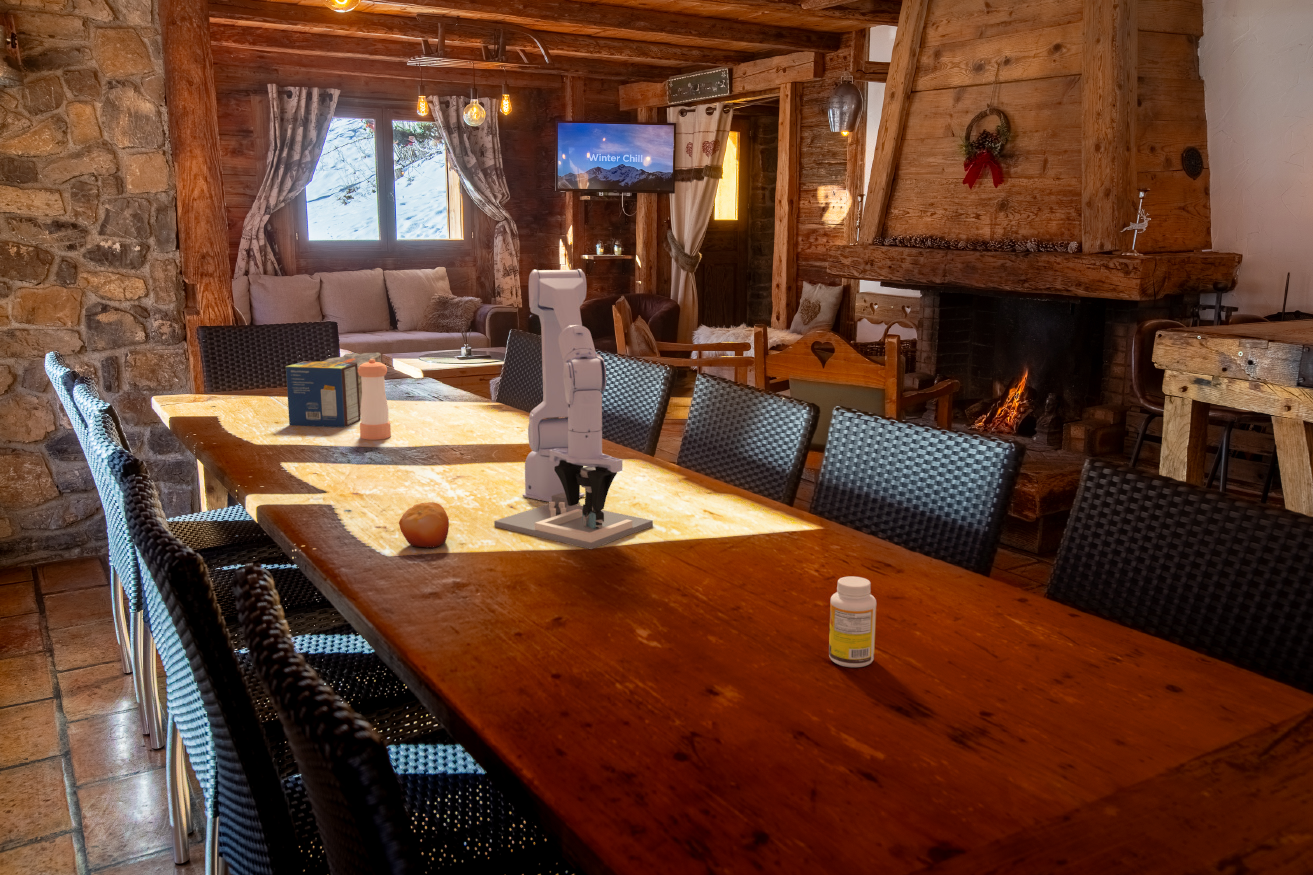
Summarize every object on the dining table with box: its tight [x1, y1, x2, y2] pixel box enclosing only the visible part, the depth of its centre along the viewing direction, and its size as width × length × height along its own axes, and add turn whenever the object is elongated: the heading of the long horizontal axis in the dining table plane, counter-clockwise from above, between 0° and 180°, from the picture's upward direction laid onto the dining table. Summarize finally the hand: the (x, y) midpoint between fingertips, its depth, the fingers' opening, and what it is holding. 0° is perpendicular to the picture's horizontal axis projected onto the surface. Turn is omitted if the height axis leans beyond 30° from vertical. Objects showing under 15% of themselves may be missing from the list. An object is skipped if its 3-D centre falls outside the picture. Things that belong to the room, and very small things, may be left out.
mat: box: [493, 503, 654, 550], centre depth 191 cm, size 22×17×1 cm
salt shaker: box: [358, 359, 392, 441], centre depth 265 cm, size 7×7×19 cm
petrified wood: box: [321, 352, 383, 409], centre depth 308 cm, size 19×17×15 cm
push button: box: [576, 466, 604, 529], centre depth 186 cm, size 7×5×10 cm
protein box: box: [285, 360, 361, 428], centre depth 283 cm, size 10×15×16 cm
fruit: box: [398, 501, 450, 549], centre depth 180 cm, size 8×8×8 cm
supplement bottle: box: [828, 575, 877, 668], centre depth 133 cm, size 6×6×10 cm
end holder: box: [535, 509, 632, 543], centre depth 186 cm, size 12×11×1 cm
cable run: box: [548, 493, 568, 517], centre depth 198 cm, size 4×11×2 cm, turn 175°
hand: (585, 507), depth 186 cm, fingers closed on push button, 5 cm apart
